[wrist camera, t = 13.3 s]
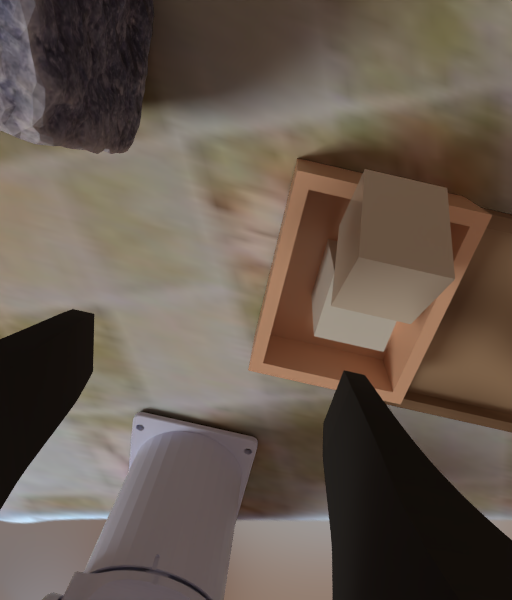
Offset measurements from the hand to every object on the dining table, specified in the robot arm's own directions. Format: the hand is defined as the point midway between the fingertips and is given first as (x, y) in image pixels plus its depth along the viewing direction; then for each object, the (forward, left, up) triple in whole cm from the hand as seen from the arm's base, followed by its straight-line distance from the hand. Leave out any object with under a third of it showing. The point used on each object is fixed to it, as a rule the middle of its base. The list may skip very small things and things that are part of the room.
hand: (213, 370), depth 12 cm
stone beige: (+2, -5, -6) cm, 8 cm away
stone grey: (-1, -5, -7) cm, 9 cm away
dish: (0, -5, -10) cm, 11 cm away
